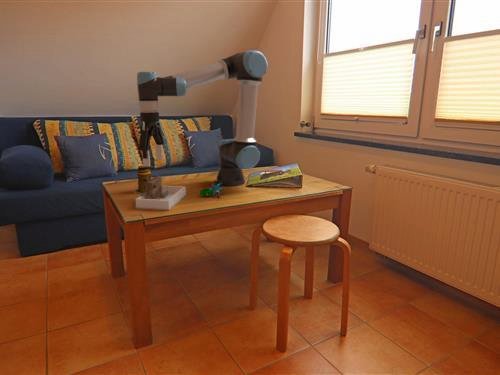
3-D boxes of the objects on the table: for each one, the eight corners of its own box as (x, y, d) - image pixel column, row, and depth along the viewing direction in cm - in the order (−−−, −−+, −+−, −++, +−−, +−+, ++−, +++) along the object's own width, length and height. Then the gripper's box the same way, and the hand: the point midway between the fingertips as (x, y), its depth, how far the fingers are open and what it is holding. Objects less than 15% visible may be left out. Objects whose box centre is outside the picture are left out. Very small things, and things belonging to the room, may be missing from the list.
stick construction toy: (225, 188, 163) (222, 178, 157) (229, 200, 159) (226, 190, 153) (200, 196, 162) (197, 186, 156) (204, 208, 158) (200, 198, 152)
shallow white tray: (185, 195, 160) (185, 186, 159) (169, 210, 139) (168, 200, 138) (156, 193, 162) (156, 184, 160) (136, 208, 141) (135, 198, 139)
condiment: (152, 192, 163) (150, 168, 160) (133, 193, 161) (131, 168, 158) (152, 188, 170) (151, 164, 167) (134, 189, 168) (132, 165, 165)
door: (164, 196, 155) (163, 177, 153) (155, 203, 146) (154, 182, 143) (155, 196, 156) (154, 176, 153) (146, 202, 146) (145, 182, 144)
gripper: (152, 109, 153) (156, 157, 159) (126, 113, 129) (131, 168, 135) (169, 109, 152) (172, 157, 158) (145, 113, 128) (150, 169, 134)
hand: (153, 162), depth 146 cm, fingers open, 13 cm apart
